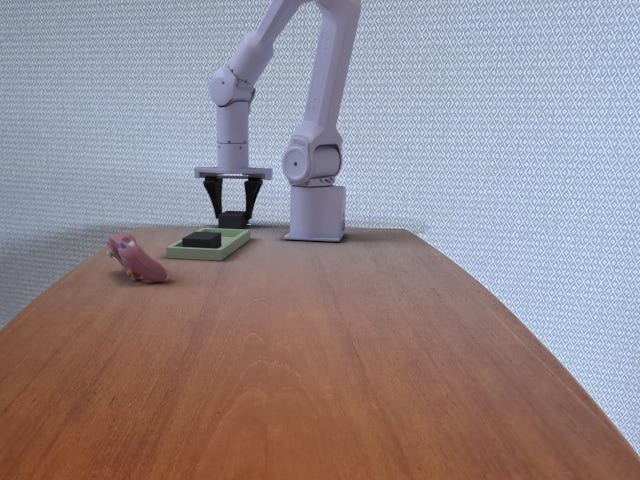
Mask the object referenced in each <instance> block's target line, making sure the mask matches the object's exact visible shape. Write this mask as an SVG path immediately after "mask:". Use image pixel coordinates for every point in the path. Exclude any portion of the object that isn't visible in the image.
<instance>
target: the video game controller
mask: <svg viewBox="0 0 640 480" xmlns="http://www.w3.org/2000/svg"><path fill="white" fill-rule="evenodd" d="M106 243H107V246H108V249H109V250H106V253H107V256H108V257H109V258H111V259H113V258H115V259H116V260H117V262H119V264H120V265H121V267H122V269H124V271H125V272H126V275H127V276H129V277H131V278H132V279H133V280H134V281H136V280H138V279H140V278H141V277H142V278H144V279H146V280H148V281H150V282H154V283H163V282H164V281H166V278H167V270H166V269H165V267H164V266H163V265H162V264H161V263H160V262H158V261H157V260H155V259H153V258H152V257H150V256H149V255H148V254H147V253H146V252H145V251H144V250H143V248H142V247H141V246H140V245H139V243H137V240H136V238H135V237H134V236H133V235H131V234H129V233H124V232H120V233H116V234H114V235H112V236H110V237H109V239H108V240H107V241H106Z"/></svg>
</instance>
